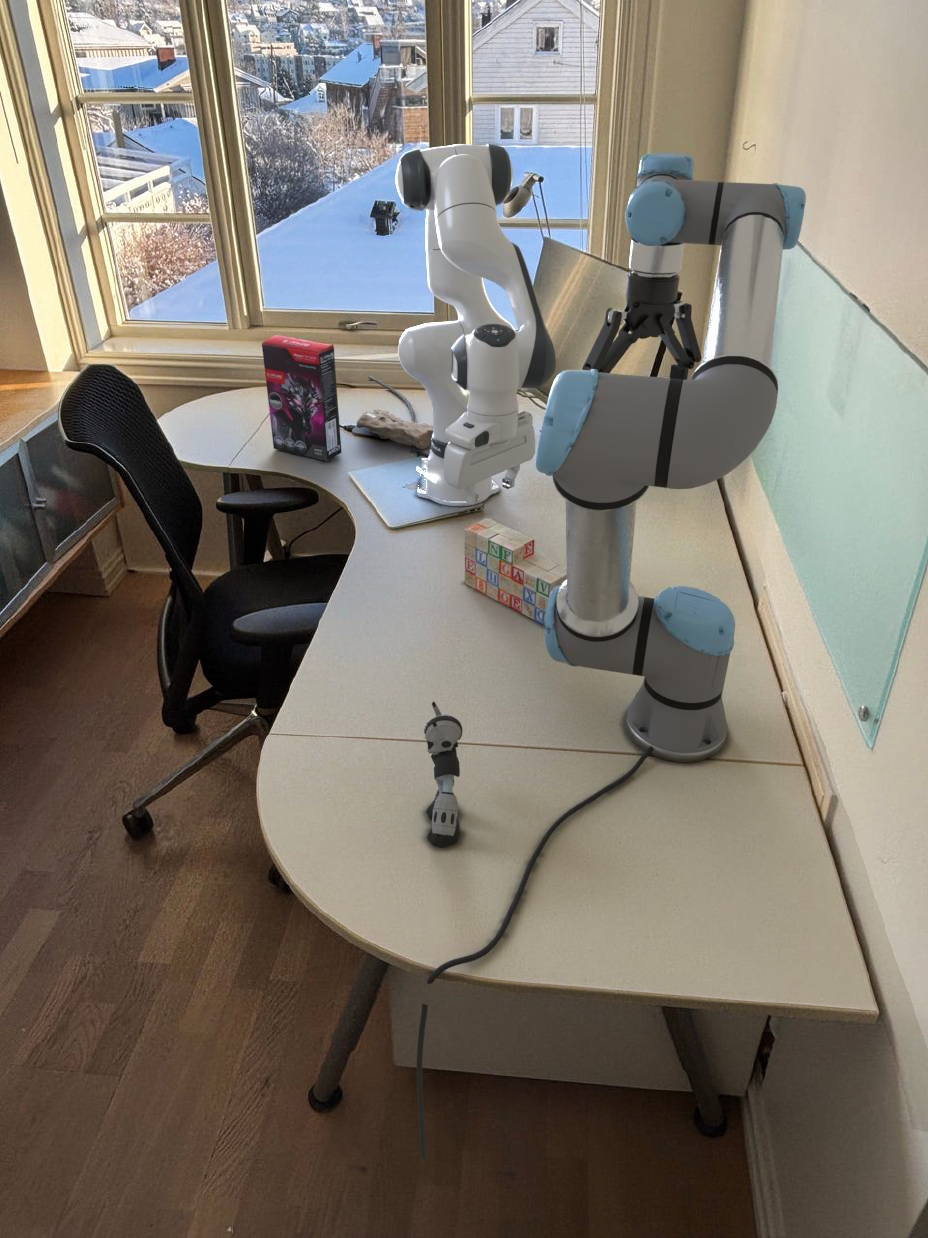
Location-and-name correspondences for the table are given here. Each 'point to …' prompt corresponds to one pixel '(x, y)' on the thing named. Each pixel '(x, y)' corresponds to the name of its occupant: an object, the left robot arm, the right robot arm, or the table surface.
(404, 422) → the stone
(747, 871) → the table surface
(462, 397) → the left robot arm
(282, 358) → the graphics card box
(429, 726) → the robot
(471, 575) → the stack of blocks
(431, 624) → the table surface
